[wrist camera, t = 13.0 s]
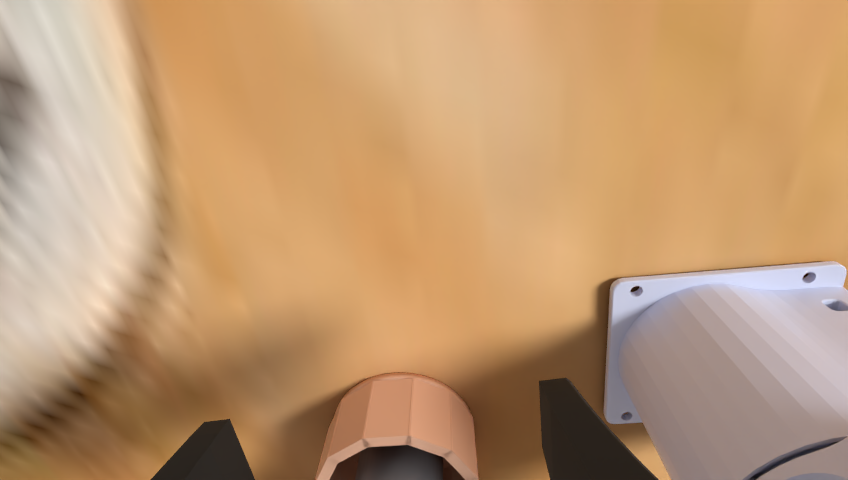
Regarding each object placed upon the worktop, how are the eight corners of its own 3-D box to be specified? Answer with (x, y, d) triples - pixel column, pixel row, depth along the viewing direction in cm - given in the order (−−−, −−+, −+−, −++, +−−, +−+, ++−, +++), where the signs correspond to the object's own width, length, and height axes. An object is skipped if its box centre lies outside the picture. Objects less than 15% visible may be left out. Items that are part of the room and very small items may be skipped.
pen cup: (468, 367, 24) (474, 431, 20) (478, 474, 27) (484, 547, 23) (320, 377, 24) (299, 441, 20) (346, 482, 27) (332, 554, 23)
